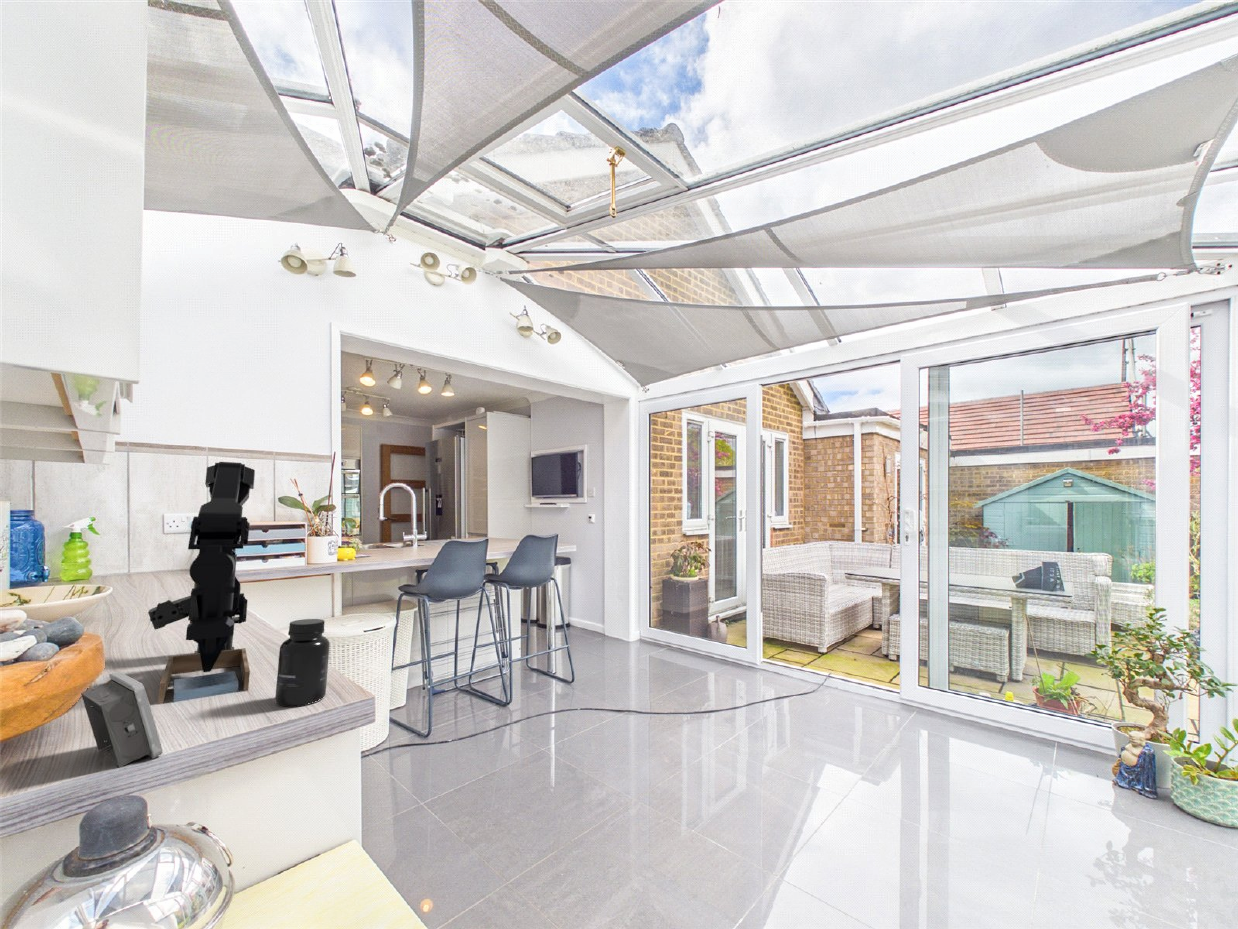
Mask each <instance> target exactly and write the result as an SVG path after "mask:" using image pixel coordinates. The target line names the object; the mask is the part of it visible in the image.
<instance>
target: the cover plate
mask: <svg viewBox="0 0 1238 929" xmlns="http://www.w3.org/2000/svg"><path fill="white" fill-rule="evenodd" d="M236 674H237V673H236V672H235V671H234V670H232V671H225V672H218V673H217V672H215V673H211V674H205V675H197V676H190V677H184V678H183V677H182V678H177V679H174V680H173V689H172V690H173V691H172V692H173V693H172V694H173V698H172V699H173V703H179V702H184V701H190V700H196V699H202V698H203V699H204V698H208V697H213V696H214V697H215V696H219V695H228V694H232V693H238V691H239V680H238V676H237V675H236Z"/></svg>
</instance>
